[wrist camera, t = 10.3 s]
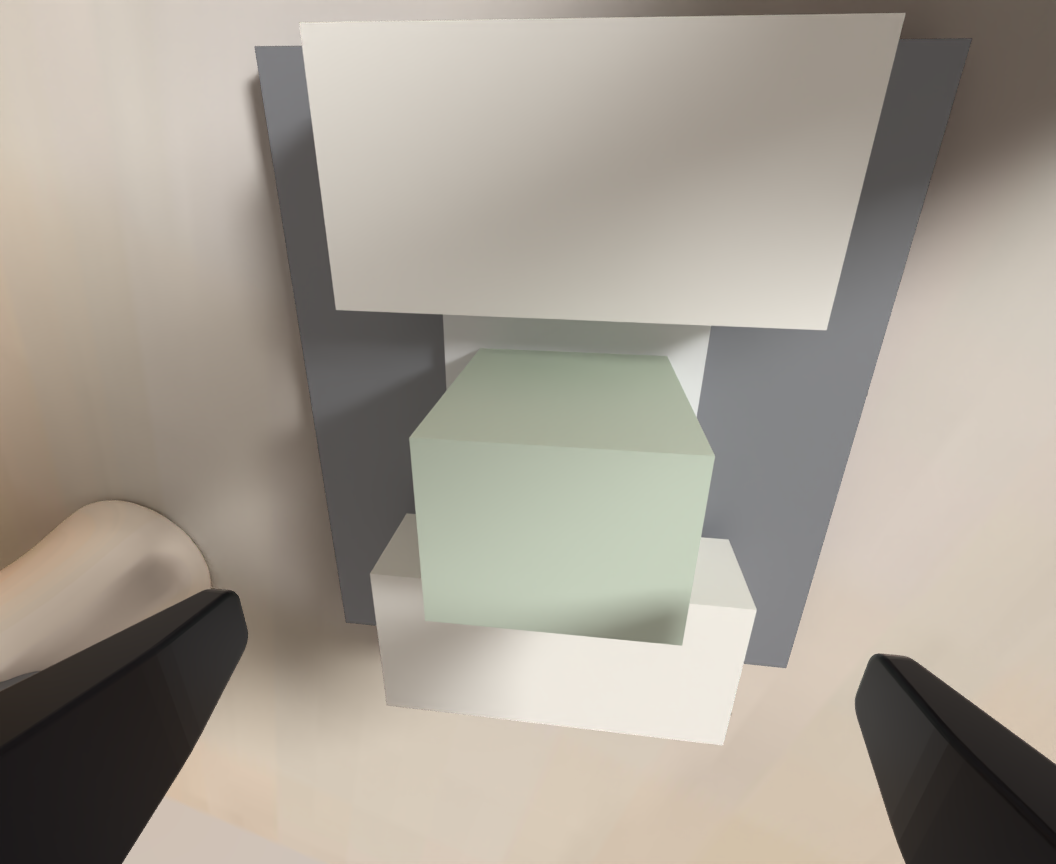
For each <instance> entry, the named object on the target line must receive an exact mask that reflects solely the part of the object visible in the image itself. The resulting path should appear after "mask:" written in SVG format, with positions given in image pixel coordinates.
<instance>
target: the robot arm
mask: <svg viewBox="0 0 1056 864" xmlns="http://www.w3.org/2000/svg"><path fill="white" fill-rule="evenodd" d="M247 640H248V630H247V626H246V622H245V618H244V614H243V610H242V606H241V603H240V599H239V596H238V595H237V594H236V593H235V592H234V591H231V590H222V589H206V590H203V591H201V592H199V593H197V594H195V595H193V596H191V597H189V598H187V599H185V600H183V601H181V602H179V603H177V604H175V605H173V606H171V607H168V608H166V609H164V610H162V611H160V612H158V613H156V614H154V615H152V616H150V617H148V618H146V619H144V620H142V621H140V622H138V623H136V624H134V625H132V626H130V627H128V628H126V629H124V630H122V631H120V632H118V633H116V634H114V635H112V636H110V637H108V638H106V639H104V640H102V641H100V642H98V643H96V644H94V645H92V646H90V647H88V648H86V649H84V650H82V651H80V652H78V653H76V654H74V655H72V656H70V657H68V658H66V659H64V660H62V661H60V662H58V663H56V664H54V665H52V666H50V667H48V668H46V669H44V670H42V671H40V672H38V673H36V674H34V675H32V676H30V677H28V678H26V679H24V680H22V681H20V682H18V683H16V684H13V685H11V686H9V687H7V688H5V689H3V690H1V691H0V864H122V863H123V861H124V859H125V858H126V856H127V855H128V853H129V852H130V850H131V848H132V847H133V845H134V844H135V842H136V841H137V839H138V837H139V836H140V834H141V833H142V831H143V829H144V828H145V826H146V824H147V823H148V821H149V820H150V818H151V817H152V815H153V813H154V812H155V810H156V809H157V807H158V805H159V804H160V802H161V801H162V799H163V797H164V796H165V794H166V793H167V791H168V789H169V788H170V786H171V785H172V783H173V782H174V780H175V778H176V777H177V775H178V774H179V772H180V770H181V769H182V767H183V765H184V764H185V762H186V760H187V759H188V757H189V755H190V754H191V752H192V750H193V748H194V747H195V745H196V743H197V741H198V739H199V737H200V736H201V734H202V732H203V730H204V728H205V726H206V724H207V722H208V720H209V718H210V716H211V714H212V712H213V710H214V708H215V706H216V705H217V703H218V701H219V699H220V697H221V695H222V693H223V691H224V689H225V687H226V685H227V683H228V681H229V679H230V677H231V675H232V673H233V671H234V669H235V667H236V666H237V664H238V662H239V660H240V658H241V656H242V654H243V652H244V650H245V647H246V644H247ZM855 710H856V715H857V719H858V722H859V725H860V728H861V731H862V735H863V738H864V741H865V744H866V747H867V750H868V754H869V757H870V760H871V763H872V766H873V769H874V773H875V776H876V779H877V782H878V785H879V788H880V792H881V795H882V798H883V801H884V804H885V807H886V810H887V814H888V817H889V820H890V823H891V826H892V829H893V832H894V835H895V837H896V840H897V843H898V846H899V848H900V851H901V853H902V856H903V858H904V861H905V863H906V864H1056V764H1055V763H1053V762H1052V761H1051V760H1049V759H1048V758H1047V757H1045V756H1044V755H1042V754H1041V753H1040V752H1038V751H1037V750H1036V749H1034V748H1033V747H1032V746H1030V745H1029V744H1027V743H1026V742H1025V741H1023V740H1022V739H1021V738H1019V737H1018V736H1017V735H1015V734H1014V733H1013V732H1011V731H1010V730H1008V729H1007V728H1006V727H1004V726H1003V725H1002V724H1000V723H999V722H998V721H996V720H995V719H994V718H992V717H991V716H989V715H988V714H987V713H985V712H984V711H983V710H981V709H980V708H979V707H977V706H976V705H974V704H973V703H972V702H970V701H969V700H968V699H966V698H965V697H964V696H962V695H961V694H960V693H958V692H957V691H955V690H954V689H953V688H951V687H950V686H949V685H947V684H946V683H945V682H943V681H942V680H940V679H939V678H938V677H936V676H935V675H934V674H932V673H931V672H930V671H928V670H927V669H926V668H924V667H923V666H921V665H920V664H919V663H917V662H916V661H914V660H913V659H911V658H909V657H906V656H900V655H890V654H875V655H873V656H872V657H871V658H870V660H869V662H868V664H867V667H866V670H865V672H864V675H863V678H862V680H861V683H860V685H859V688H858V691H857V693H856V697H855Z"/></svg>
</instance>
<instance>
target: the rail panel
mask: <svg viewBox="0 0 1056 864" xmlns="http://www.w3.org/2000/svg"><path fill="white" fill-rule="evenodd" d="M905 14H906V13H861V14H798V15H735V16H672V17H608V18H545V19H482V20H419V21H355V22H299V26H300V34H301V42H302V46H255V53H256V59H257V65H258V72H259V78H260V84H261V91H262V97H263V103H264V109H265V116H266V122H267V128H268V135H269V141H270V147H271V153H272V160H273V166H274V172H275V179H276V185H277V191H278V198H279V204H280V210H281V216H282V223H283V229H284V235H285V242H286V248H287V254H288V260H289V267H290V273H291V279H292V286H293V292H294V298H295V305H296V311H297V317H298V323H299V330H300V336H301V342H302V349H303V355H304V361H305V367H306V374H307V380H308V386H309V393H310V399H311V405H312V412H313V418H314V424H315V430H316V437H317V443H318V449H319V456H320V462H321V468H322V474H323V481H324V487H325V493H326V500H327V506H328V512H329V519H330V525H331V531H332V537H333V544H334V550H335V556H336V563H337V569H338V575H339V581H340V588H341V594H342V600H343V607H344V613H345V619H346V623H356V624H365V625H375V626H377V633H378V640H379V648H380V656H381V664H382V672H383V679H384V687H385V695H386V703H387V705H388V706H396V707H405V708H413V709H421V710H430V711H438V712H447V713H455V714H463V715H472V716H480V717H489V718H497V719H505V720H514V721H522V722H530V723H539V724H547V725H556V726H564V727H572V728H581V729H589V730H598V731H606V732H614V733H623V734H631V735H640V736H648V737H656V738H665V739H673V740H682V741H690V742H698V743H707V744H715V745H723V744H724V740H725V736H726V732H727V728H728V724H729V720H730V716H731V712H732V708H733V704H734V700H735V696H736V692H737V688H738V684H739V680H740V676H741V672H742V668H743V664H751V665H761V666H771V667H780V668H786V667H787V664H788V660H789V657H790V654H791V650H792V647H793V643H794V640H795V637H796V633H797V630H798V626H799V623H800V620H801V616H802V613H803V610H804V606H805V603H806V599H807V596H808V593H809V589H810V586H811V582H812V579H813V576H814V572H815V569H816V566H817V562H818V559H819V555H820V552H821V549H822V545H823V542H824V538H825V535H826V532H827V528H828V525H829V521H830V518H831V515H832V511H833V508H834V505H835V501H836V498H837V494H838V491H839V488H840V484H841V481H842V477H843V474H844V471H845V467H846V464H847V461H848V457H849V454H850V450H851V447H852V444H853V440H854V437H855V433H856V430H857V427H858V423H859V420H860V417H861V413H862V410H863V406H864V403H865V400H866V396H867V393H868V389H869V386H870V383H871V379H872V376H873V373H874V369H875V366H876V362H877V359H878V356H879V352H880V349H881V345H882V342H883V339H884V335H885V332H886V329H887V325H888V322H889V318H890V315H891V312H892V308H893V305H894V301H895V298H896V295H897V291H898V288H899V285H900V281H901V278H902V274H903V271H904V268H905V264H906V261H907V257H908V254H909V251H910V247H911V244H912V241H913V237H914V234H915V230H916V227H917V224H918V220H919V217H920V213H921V210H922V207H923V203H924V200H925V197H926V193H927V190H928V186H929V183H930V180H931V176H932V173H933V169H934V166H935V163H936V159H937V156H938V153H939V149H940V146H941V142H942V139H943V136H944V132H945V129H946V125H947V122H948V119H949V115H950V112H951V108H952V105H953V102H954V98H955V95H956V92H957V88H958V85H959V81H960V78H961V75H962V71H963V68H964V64H965V61H966V58H967V54H968V51H969V48H970V44H971V41H972V38H960V39H899V38H900V34H901V30H902V26H903V22H904V18H905ZM480 348H487V349H511V350H535V351H559V352H583V353H607V354H631V355H655V356H667V357H668V359H669V361H670V363H671V365H672V367H673V369H674V371H675V373H676V376H677V378H678V380H679V382H680V384H681V386H682V388H683V390H684V392H685V394H686V396H687V398H688V401H689V403H690V405H691V407H692V409H693V411H694V413H695V415H696V417H697V419H698V421H699V424H700V426H701V428H702V430H703V432H704V434H705V436H706V438H707V440H708V442H709V444H710V446H711V449H712V451H713V453H714V455H715V460H714V465H713V471H712V477H711V483H710V488H709V494H708V500H707V506H706V511H705V517H704V523H703V529H702V534H701V540H700V546H699V552H698V558H697V563H696V569H695V575H694V581H693V586H692V592H691V598H690V604H689V609H688V615H687V621H686V627H685V632H684V638H683V644H682V646H680V645H669V644H659V643H649V642H638V641H628V640H618V639H607V638H597V637H587V636H576V635H566V634H556V633H546V632H535V631H525V630H515V629H504V628H494V627H484V626H473V625H463V624H453V623H442V622H432V621H425V613H424V602H423V591H422V579H421V568H420V556H419V545H418V533H417V522H416V510H415V499H414V487H413V476H412V464H411V453H410V442H409V437H410V436H411V435H412V433H413V432H414V431H415V430H416V428H417V427H418V426H419V425H420V423H421V422H422V421H423V420H424V418H425V417H426V416H427V415H428V413H429V412H430V411H431V410H432V408H433V407H434V406H435V405H436V403H437V402H438V401H439V399H440V398H441V397H442V396H443V394H444V393H445V392H446V391H447V389H448V388H449V387H450V386H451V384H452V383H453V382H454V381H455V379H456V378H457V377H458V376H459V374H460V373H461V372H462V371H463V369H464V368H465V367H466V366H467V364H468V363H469V362H470V361H471V359H472V358H473V357H474V356H475V354H476V353H477V352H478V351H479V349H480Z"/></svg>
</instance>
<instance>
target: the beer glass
mask: <svg viewBox="0 0 1056 864" xmlns="http://www.w3.org/2000/svg"><path fill="white" fill-rule="evenodd" d="M206 589H211V577H210V573H209V569H208V566H207V563H206V561H205V559H204V557H203V555H202V553H201V552H200V550H199V549H198V547H197V546H196V544H195V543H194V542H193V541H192V539H191V538H190V537H189V536H188V535H187V534H186V533H185V532H184V531H183V530H182V529H181V528H180V527H178V526H177V525H176V524H175V523H173V522H172V521H171V520H169V519H168V518H166V517H164V516H163V515H161V514H159V513H157V512H156V511H154V510H151V509H149V508H147V507H144V506H141V505H138V504H135V503H131V502H126V501H119V500H104V501H98V502H94V503H91V504H88V505H86V506H84V507H82V508H80V509H79V510H77V511H75V512H74V513H73V514H71V515H70V516H69V517H68V518H66V519H65V520H64V521H63V522H62V523H60V524H59V525H58V526H57V527H56V528H55V529H54V530H52V531H51V532H50V533H49V534H48V535H47V536H46V537H44V538H43V539H42V540H41V541H40V542H39V543H38V544H36V545H35V546H34V547H33V548H32V549H30V550H29V551H28V552H26V553H25V554H24V555H23V556H21V557H20V558H19V559H17V560H16V561H14V562H13V563H11V564H10V565H8V566H7V567H5V568H4V569H2V570H0V691H1V690H3V689H5V688H7V687H9V686H11V685H13V684H16V683H18V682H20V681H22V680H24V679H26V678H28V677H30V676H32V675H34V674H36V673H38V672H40V671H42V670H44V669H46V668H48V667H50V666H52V665H54V664H56V663H58V662H60V661H62V660H64V659H66V658H68V657H70V656H72V655H74V654H76V653H78V652H80V651H82V650H84V649H86V648H88V647H90V646H92V645H94V644H96V643H98V642H100V641H102V640H104V639H106V638H108V637H110V636H112V635H114V634H116V633H118V632H120V631H122V630H124V629H126V628H128V627H130V626H132V625H134V624H136V623H138V622H140V621H142V620H144V619H146V618H148V617H150V616H152V615H154V614H156V613H158V612H160V611H162V610H164V609H166V608H168V607H171V606H173V605H175V604H177V603H179V602H181V601H183V600H185V599H187V598H189V597H191V596H193V595H195V594H197V593H199V592H201V591H203V590H206Z"/></svg>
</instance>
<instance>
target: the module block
mask: <svg viewBox="0 0 1056 864" xmlns="http://www.w3.org/2000/svg"><path fill="white" fill-rule="evenodd" d="M409 442H410V453H411V464H412V476H413V487H414V499H415V510H416V522H417V533H418V545H419V556H420V568H421V579H422V591H423V602H424V613H425V621H432V622H442V623H453V624H463V625H473V626H484V627H494V628H504V629H515V630H525V631H535V632H546V633H556V634H566V635H576V636H587V637H597V638H607V639H618V640H628V641H638V642H649V643H659V644H669V645H680V646H682V644H683V638H684V632H685V627H686V621H687V615H688V609H689V604H690V598H691V592H692V586H693V581H694V575H695V569H696V563H697V558H698V552H699V546H700V540H701V534H702V529H703V523H704V517H705V511H706V506H707V500H708V494H709V488H710V483H711V477H712V471H713V465H714V460H715V455H714V453H713V451H712V449H711V446H710V444H709V442H708V440H707V438H706V436H705V434H704V432H703V430H702V428H701V426H700V424H699V421H698V419H697V417H696V415H695V413H694V411H693V409H692V407H691V405H690V403H689V401H688V398H687V396H686V394H685V392H684V390H683V388H682V386H681V384H680V382H679V380H678V378H677V376H676V373H675V371H674V369H673V367H672V365H671V363H670V361H669V359H668V357H667V356H655V355H631V354H607V353H583V352H559V351H535V350H511V349H487V348H480V349H479V351H478V352H477V353H476V354H475V356H474V357H473V358H472V359H471V361H470V362H469V363H468V364H467V366H466V367H465V368H464V369H463V371H462V372H461V373H460V374H459V376H458V377H457V378H456V379H455V381H454V382H453V383H452V384H451V386H450V387H449V388H448V389H447V391H446V392H445V393H444V394H443V396H442V397H441V398H440V399H439V401H438V402H437V403H436V405H435V406H434V407H433V408H432V410H431V411H430V412H429V413H428V415H427V416H426V417H425V418H424V420H423V421H422V422H421V423H420V425H419V426H418V427H417V428H416V430H415V431H414V432H413V433H412V435H411V436H410V437H409Z"/></svg>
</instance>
